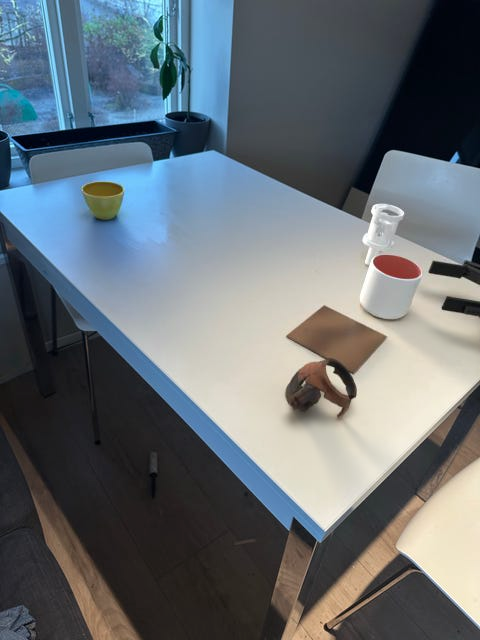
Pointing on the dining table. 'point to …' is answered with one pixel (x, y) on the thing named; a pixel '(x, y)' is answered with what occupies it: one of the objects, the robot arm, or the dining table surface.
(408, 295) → the cup
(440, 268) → the robot arm
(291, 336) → the coaster
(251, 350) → the dining table surface
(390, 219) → the white openwork cylinder
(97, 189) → the flower pot
